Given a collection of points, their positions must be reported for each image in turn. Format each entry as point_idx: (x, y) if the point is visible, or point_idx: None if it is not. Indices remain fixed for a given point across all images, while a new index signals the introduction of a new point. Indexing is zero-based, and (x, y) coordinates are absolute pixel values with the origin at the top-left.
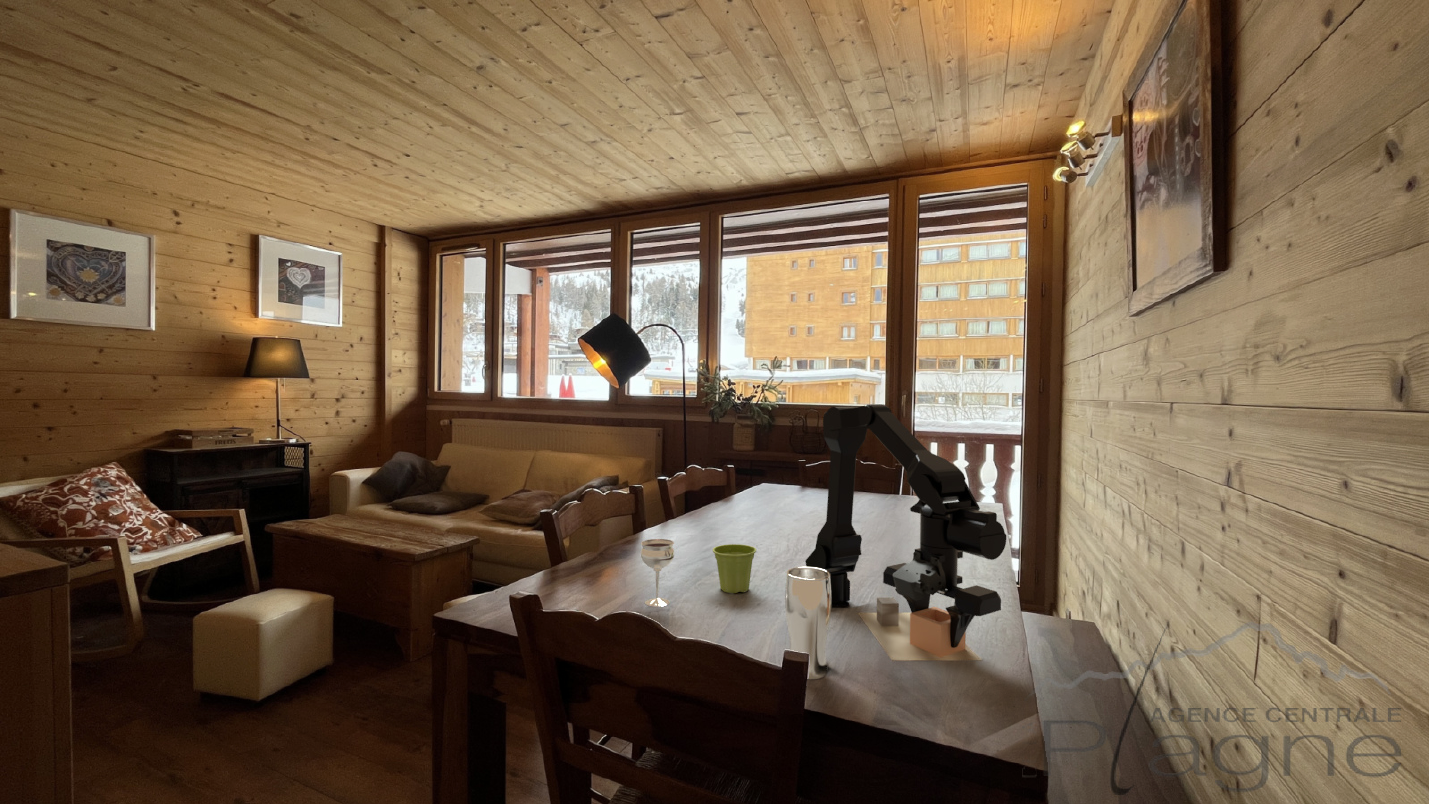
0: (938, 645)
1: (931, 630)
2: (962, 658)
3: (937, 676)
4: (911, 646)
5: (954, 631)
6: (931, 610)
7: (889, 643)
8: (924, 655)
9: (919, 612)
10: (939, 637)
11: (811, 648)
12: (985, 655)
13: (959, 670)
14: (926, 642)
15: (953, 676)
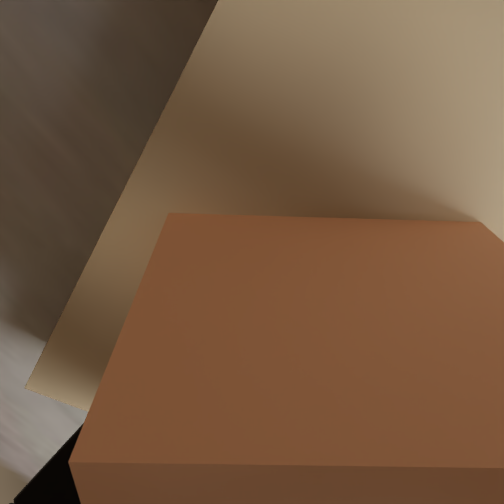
0: (176, 259)
1: (269, 348)
2: (87, 320)
3: (77, 31)
4: (444, 188)
5: (48, 480)
6: None
7: None
8: (267, 132)
9: None
10: (151, 315)
11: None
12: None
13: (93, 246)
14: (322, 254)
15: (36, 141)
